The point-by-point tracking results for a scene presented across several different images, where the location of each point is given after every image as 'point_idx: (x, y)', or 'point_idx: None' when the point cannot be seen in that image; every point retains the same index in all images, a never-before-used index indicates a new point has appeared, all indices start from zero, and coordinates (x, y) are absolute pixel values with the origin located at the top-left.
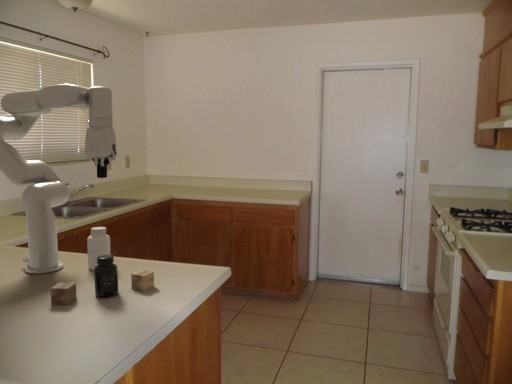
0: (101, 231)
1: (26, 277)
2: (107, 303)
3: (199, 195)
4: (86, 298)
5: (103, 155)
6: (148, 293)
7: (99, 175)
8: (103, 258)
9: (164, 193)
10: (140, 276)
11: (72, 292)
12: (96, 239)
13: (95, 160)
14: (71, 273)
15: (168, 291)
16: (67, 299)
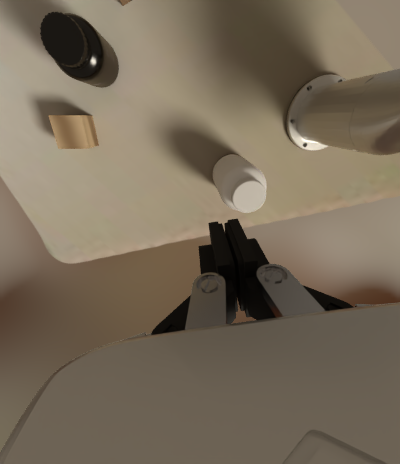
0: (232, 190)
1: (313, 54)
2: None
3: None
4: (108, 19)
5: (119, 359)
6: (45, 110)
7: (222, 228)
8: (45, 17)
9: None
10: (56, 115)
11: None
12: (232, 172)
13: (299, 302)
14: (250, 122)
15: (30, 136)
16: None
